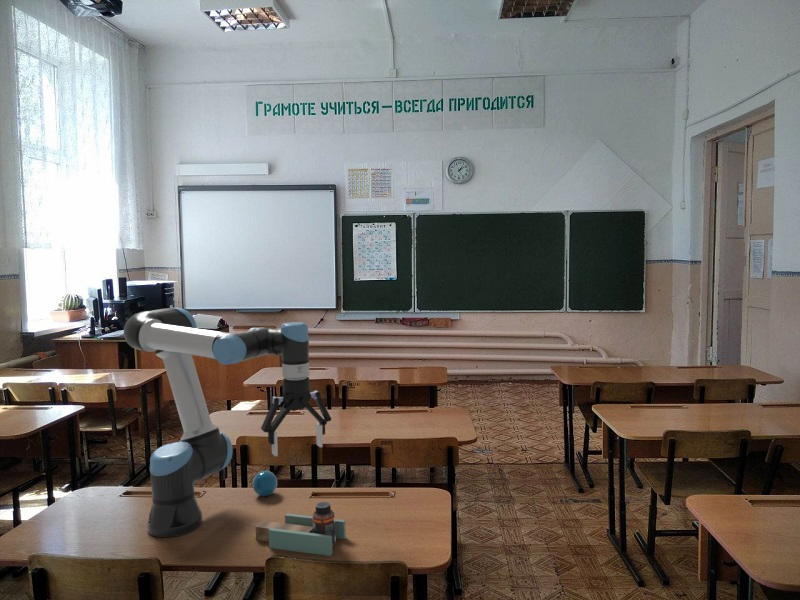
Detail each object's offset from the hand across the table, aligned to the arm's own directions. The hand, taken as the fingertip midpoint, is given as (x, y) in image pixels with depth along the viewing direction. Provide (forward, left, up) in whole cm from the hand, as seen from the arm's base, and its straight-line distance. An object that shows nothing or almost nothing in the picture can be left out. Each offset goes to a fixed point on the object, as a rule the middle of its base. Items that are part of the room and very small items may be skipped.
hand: (297, 450), depth 171 cm
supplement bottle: (+11, -8, -23) cm, 27 cm away
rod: (-1, -8, -23) cm, 24 cm away
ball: (-22, +18, -23) cm, 37 cm away
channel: (+6, -8, -23) cm, 25 cm away
